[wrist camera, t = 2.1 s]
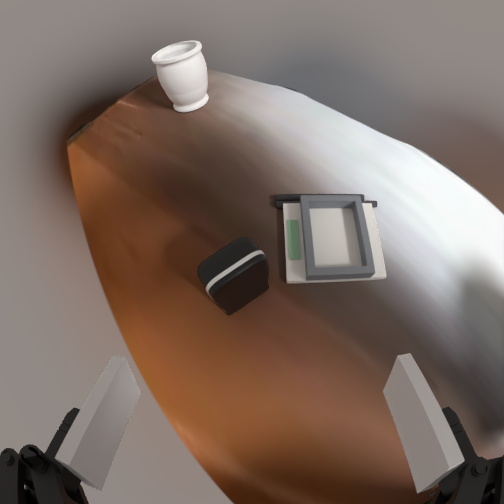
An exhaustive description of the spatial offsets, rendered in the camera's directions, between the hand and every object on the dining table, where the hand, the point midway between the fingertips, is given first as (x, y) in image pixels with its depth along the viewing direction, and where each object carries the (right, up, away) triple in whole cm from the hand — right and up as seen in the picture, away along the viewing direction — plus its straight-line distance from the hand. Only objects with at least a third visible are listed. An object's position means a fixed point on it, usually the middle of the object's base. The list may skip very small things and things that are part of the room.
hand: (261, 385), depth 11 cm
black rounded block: (-2, +1, +25) cm, 25 cm away
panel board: (+11, +8, +26) cm, 30 cm away
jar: (-14, +41, +43) cm, 61 cm away
